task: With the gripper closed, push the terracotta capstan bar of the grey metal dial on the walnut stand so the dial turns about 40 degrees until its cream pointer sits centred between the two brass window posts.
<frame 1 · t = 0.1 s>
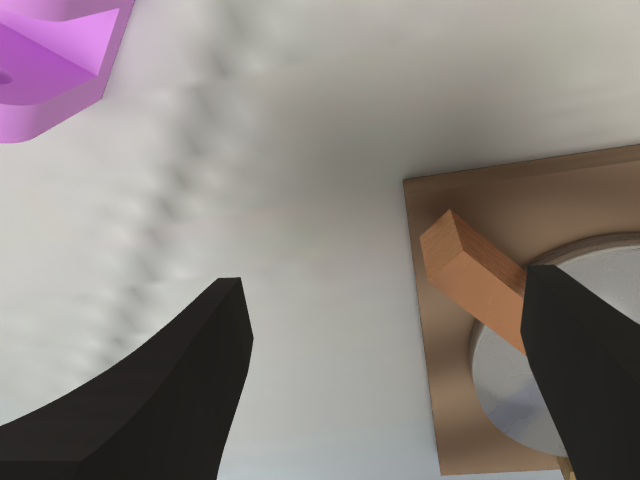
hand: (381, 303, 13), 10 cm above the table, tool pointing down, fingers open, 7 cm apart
stand: (587, 322, 25), on the table
dial: (585, 351, 21), point 4 cm above the table, hinge at 40.0°
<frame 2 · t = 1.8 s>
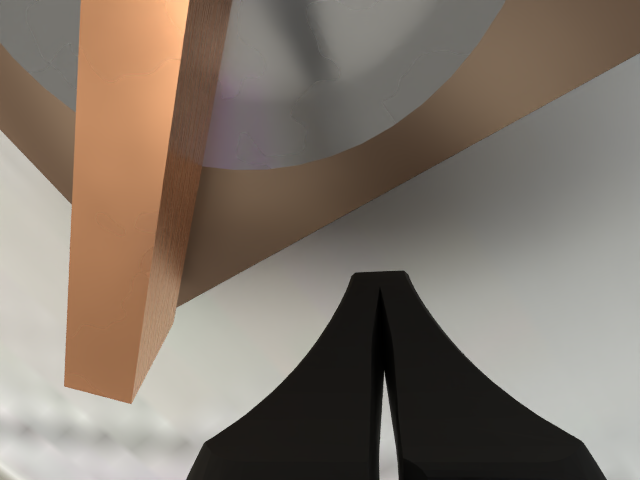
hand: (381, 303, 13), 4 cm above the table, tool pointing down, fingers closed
dial: (179, 6, 10), point 4 cm above the table, hinge at 40.0°
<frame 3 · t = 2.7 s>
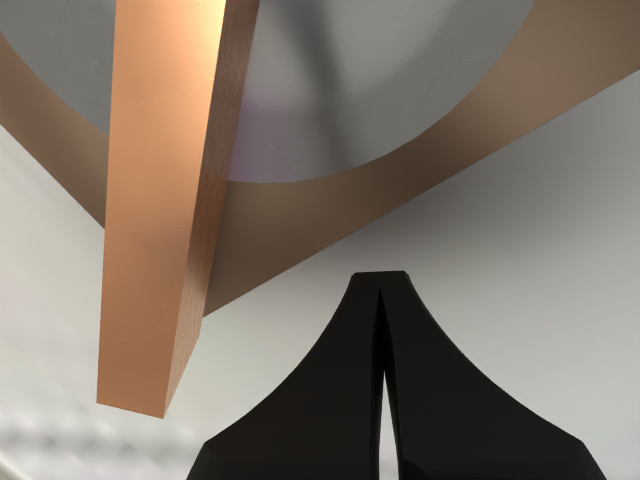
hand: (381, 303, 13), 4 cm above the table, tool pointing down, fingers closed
dial: (206, 25, 10), point 4 cm above the table, hinge at 40.0°
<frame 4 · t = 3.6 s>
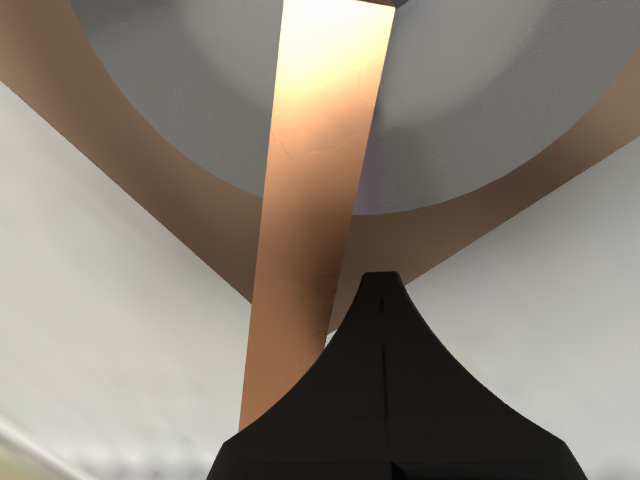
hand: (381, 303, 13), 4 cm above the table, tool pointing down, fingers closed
dial: (332, 71, 10), point 4 cm above the table, hinge at 39.4°, touching gripper
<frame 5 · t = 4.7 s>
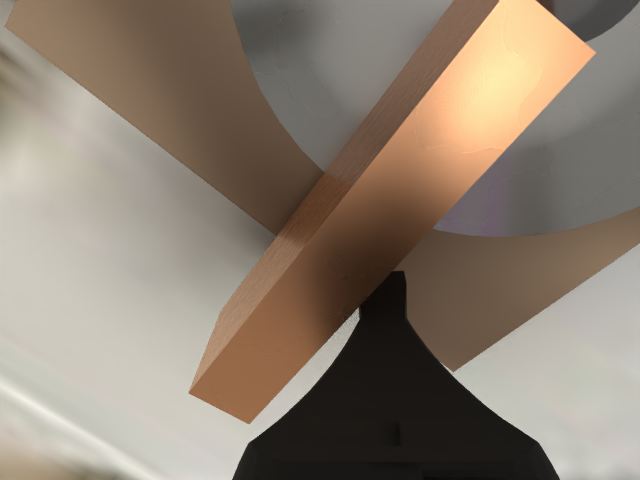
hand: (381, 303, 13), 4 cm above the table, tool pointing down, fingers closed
dial: (457, 74, 10), point 4 cm above the table, hinge at 6.4°, touching gripper
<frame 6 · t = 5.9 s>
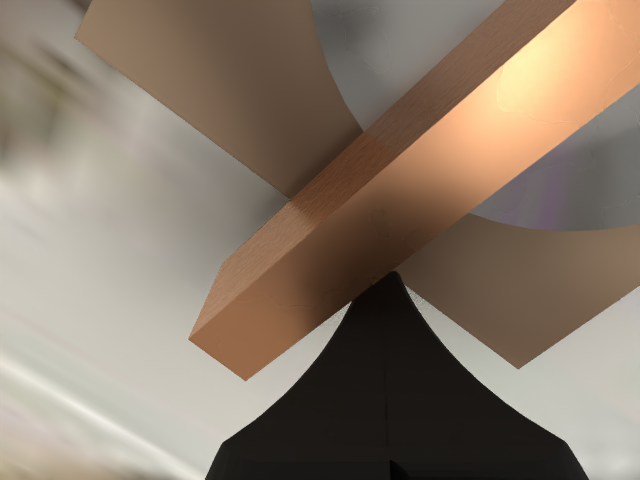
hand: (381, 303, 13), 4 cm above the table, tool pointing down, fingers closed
dial: (528, 48, 9), point 4 cm above the table, hinge at -5.7°, touching gripper
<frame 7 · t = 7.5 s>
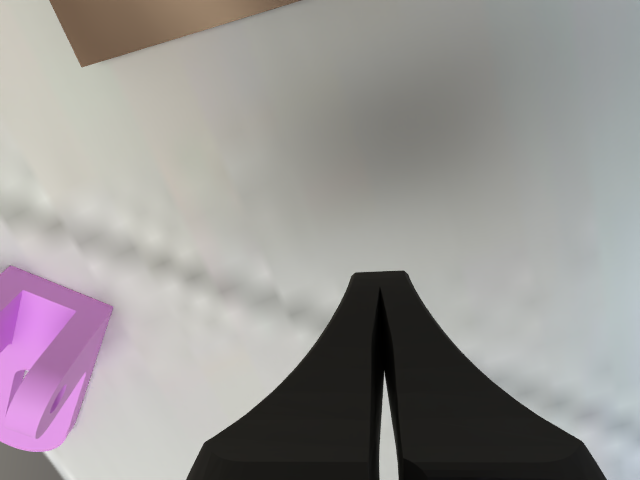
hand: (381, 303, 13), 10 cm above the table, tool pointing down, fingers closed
bracket: (45, 362, 30), on the table
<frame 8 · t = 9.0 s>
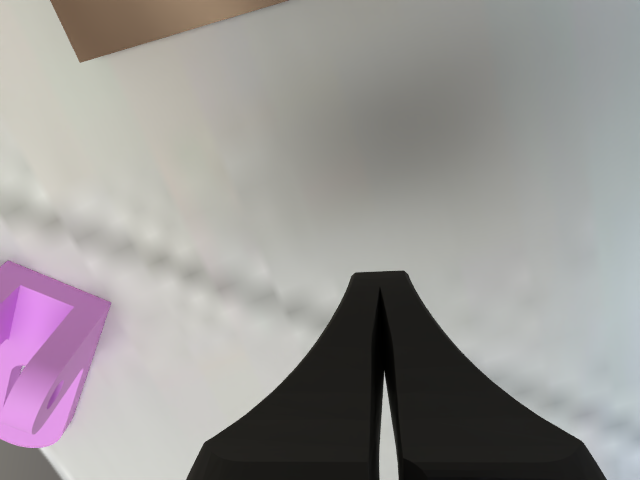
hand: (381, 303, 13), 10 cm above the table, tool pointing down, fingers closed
bracket: (42, 358, 30), on the table
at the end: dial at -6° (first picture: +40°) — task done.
